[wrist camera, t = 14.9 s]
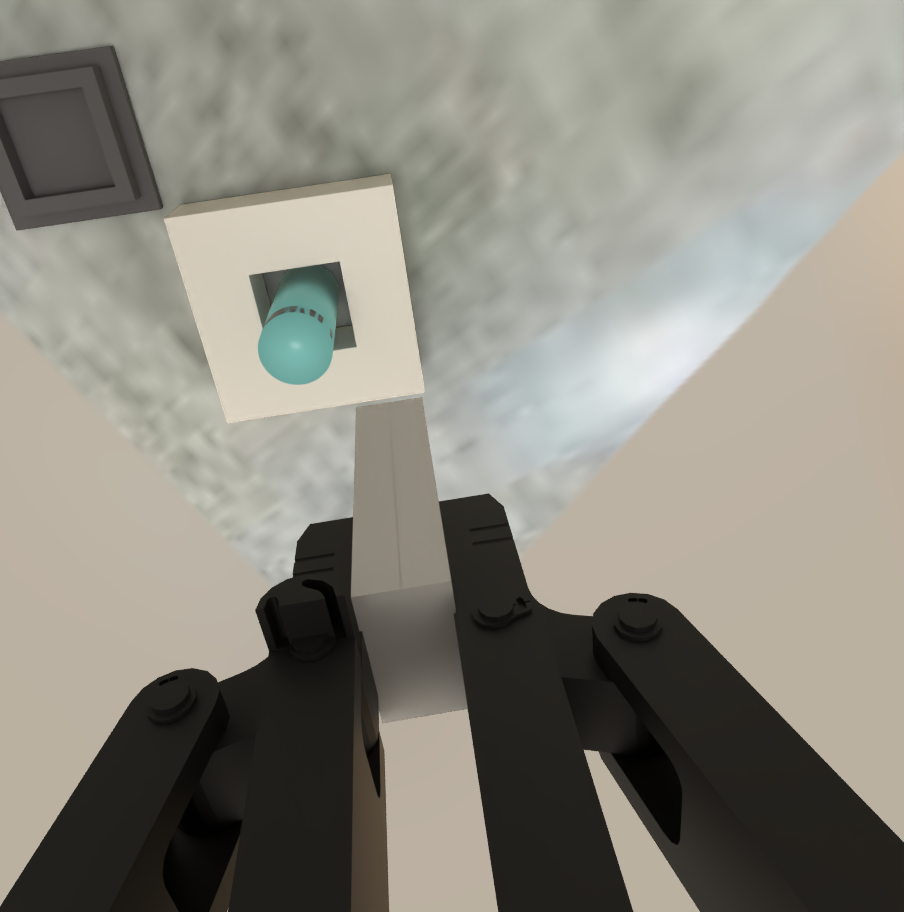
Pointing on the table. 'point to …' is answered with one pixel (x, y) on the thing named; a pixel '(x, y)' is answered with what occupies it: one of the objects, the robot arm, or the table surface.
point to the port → (292, 246)
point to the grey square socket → (70, 141)
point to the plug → (300, 326)
